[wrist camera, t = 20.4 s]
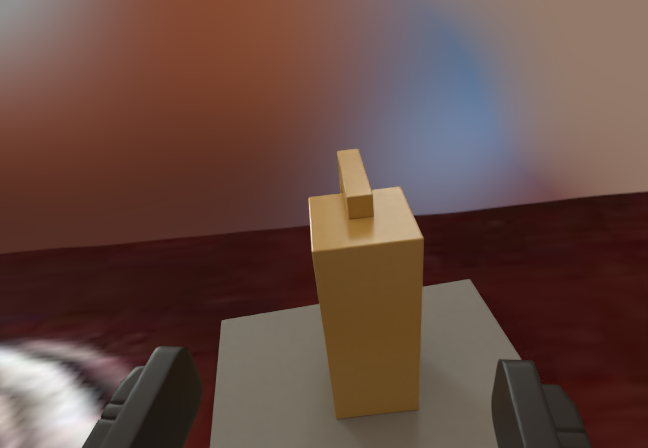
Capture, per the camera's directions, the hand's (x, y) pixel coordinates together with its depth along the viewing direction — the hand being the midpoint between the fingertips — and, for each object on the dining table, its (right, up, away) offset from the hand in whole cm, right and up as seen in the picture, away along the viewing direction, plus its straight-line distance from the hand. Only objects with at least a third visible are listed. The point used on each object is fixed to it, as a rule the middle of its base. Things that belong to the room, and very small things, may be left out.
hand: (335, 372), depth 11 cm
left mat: (+2, -5, +12) cm, 13 cm away
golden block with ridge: (+2, -4, +12) cm, 13 cm away
